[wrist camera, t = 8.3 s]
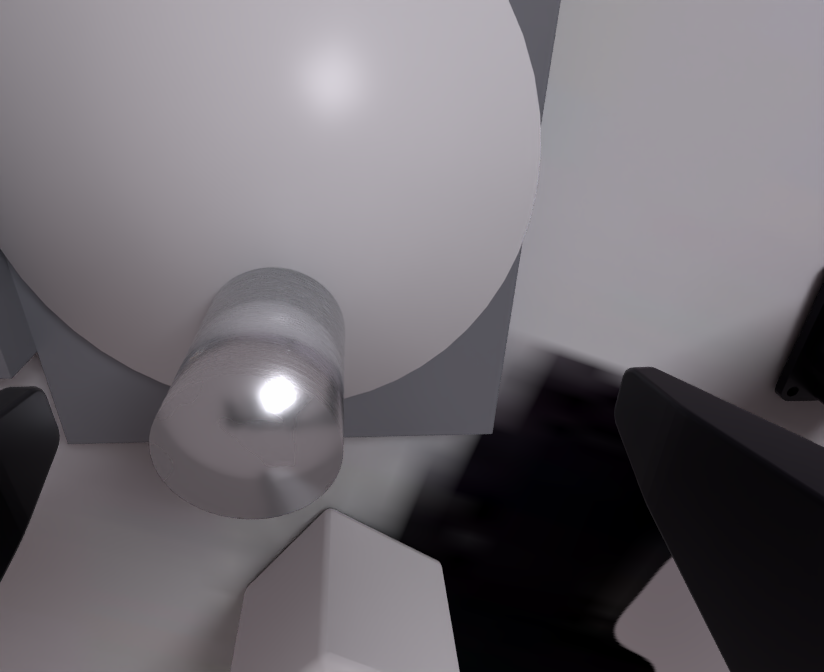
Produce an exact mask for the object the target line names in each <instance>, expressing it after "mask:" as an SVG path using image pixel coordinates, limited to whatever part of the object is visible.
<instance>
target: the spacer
mask: <svg viewBox="0 0 824 672" xmlns="http://www.w3.org/2000/svg"><path fill="white" fill-rule="evenodd" d="M344 355H345V325H344V319H343V314H342V312H341V309H340V307H339V305H338V303H337V301H336V300H335V298H334V297H333V296H332V294H331V293H330V292H329V291H328V290H327V289H326V288H325V287H324V286H323V285H321V284H320V283H319V282H318V281H316V280H314V279H313V278H311V277H309V276H307V275H305V274H303V273H301V272H297V271H294V270H291V269H286V268H277V267H267V268H259V269H253V270H250V271H247V272H244V273H242V274H240V275H238V276H236V277H234V278H233V279H231V280H230V281H228V282H227V283H226V284H225V285H224V286H223V287H222V288H221V289H220V290H219V291H218V293H217V294H216V296H215V298H214V299H213V301H212V303H211V305H210V307H209V309H208V311H207V313H206V315H205V317H204V319H203V321H202V324H201V326H200V328H199V330H198V332H197V334H196V336H195V338H194V340H193V342H192V344H191V346H190V348H189V350H188V352H187V354H186V356H185V358H184V360H183V362H182V364H181V366H180V368H179V370H178V372H177V374H176V376H175V378H174V380H173V382H172V384H171V387H170V389H169V391H168V393H167V395H166V397H165V399H164V401H163V403H162V405H161V407H160V409H159V411H158V413H157V415H156V417H155V419H154V422H153V424H152V426H151V431H150V435H149V450H150V456H151V459H152V462H153V465H154V467H155V469H156V471H157V473H158V475H159V476H160V477H161V479H162V480H163V481H164V483H165V484H166V485H167V486H168V487H169V488H170V489H171V490H172V491H173V492H174V493H176V494H177V495H178V496H179V497H181V498H182V499H184V500H185V501H187V502H188V503H190V504H192V505H194V506H196V507H198V508H200V509H202V510H205V511H208V512H210V513H214V514H217V515H221V516H225V517H231V518H239V519H264V518H272V517H278V516H282V515H285V514H289V513H292V512H294V511H297V510H299V509H302V508H303V507H305V506H307V505H309V504H311V503H312V502H314V501H315V500H317V499H318V498H319V497H320V496H321V495H323V494H324V493H325V492H326V491H327V490H328V488H329V487H330V486H331V485H332V483H333V482H334V480H335V479H336V477H337V475H338V473H339V470H340V467H341V463H342V459H343V423H344Z"/></svg>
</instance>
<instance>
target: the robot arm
mask: <svg viewBox="0 0 824 672" xmlns="http://www.w3.org/2000/svg"><path fill="white" fill-rule="evenodd" d="M775 392H776V394H778V395H779V396H780V397H781V398H782V399H784V400H785V401H814V400H819V401H820V402H821V403H823V404H824V283H823V285H822V287H821V289H820V292H819V294H818V296H817V298H816V300H815V302H814V305H813V307H812V309H811V311H810V313H809V315H808V318H807V320H806V322H805V324H804V326H803V328H802V331H801V333H800V335H799V337H798V339H797V341H796V344H795V346H794V348H793V350H792V352H791V355H790V357H789V359H788V361H787V363H786V365H785V368H784V370H783V372H782V374H781V376H780V378H779V381H778V383H777V385H776V388H775ZM614 415H615V422H616V425H617V428H618V431H619V433H620V436H621V439H622V441H623V444H624V447H625V449H626V452H627V455H628V458H629V460H630V463H631V466H632V468H633V471H634V474H635V476H636V479H637V482H638V485H639V487H640V490H641V492H642V495H643V497H644V500H645V502H646V504H647V506H648V509H649V511H650V513H651V515H652V517H653V519H654V521H655V523H656V525H657V527H658V529H659V531H660V533H661V535H662V537H663V539H664V541H665V543H666V545H667V547H668V549H669V551H670V553H671V555H672V557H673V559H674V561H675V563H676V565H677V567H678V569H679V571H680V573H681V575H682V576H683V579H684V580H685V583H686V585H687V587H688V589H689V591H690V593H691V595H692V597H693V599H694V600H695V603H696V604H697V607H698V609H699V611H700V613H701V615H702V617H703V618H704V621H705V623H706V624H707V626H708V628H709V631H710V632H711V635H712V636H713V638H714V640H715V642H716V644H717V646H718V648H719V650H720V652H721V654H722V656H723V658H724V660H725V662H726V664H727V666H728V668H729V670H730V672H824V447H822V446H820V445H818V444H816V443H814V442H812V441H809V440H807V439H805V438H803V437H801V436H799V435H797V434H795V433H792V432H790V431H788V430H786V429H784V428H782V427H780V426H777V425H775V424H773V423H771V422H769V421H767V420H765V419H763V418H760V417H758V416H756V415H754V414H752V413H750V412H748V411H746V410H743V409H741V408H739V407H737V406H735V405H733V404H731V403H729V402H726V401H724V400H722V399H720V398H718V397H716V396H714V395H712V394H709V393H707V392H705V391H703V390H701V389H699V388H697V387H695V386H692V385H690V384H688V383H686V382H684V381H682V380H680V379H678V378H675V377H673V376H671V375H669V374H667V373H665V372H663V371H661V370H658V369H656V368H654V367H633V368H629V369H628V370H626V371H625V373H624V375H623V378H622V382H621V386H620V390H619V394H618V398H617V402H616V405H615V413H614ZM59 436H60V435H59V429H58V426H57V424H56V421H55V418H54V416H53V413H52V410H51V408H50V405H49V402H48V400H47V397H46V395H45V393H44V392H43V390H42V389H40V388H38V387H35V386H30V387H9V388H5V389H3V390H1V391H0V582H1V580H2V578H3V576H4V574H5V572H6V570H7V569H8V567H9V565H10V563H11V561H12V559H13V557H14V555H15V553H16V551H17V549H18V547H19V545H20V542H21V540H22V538H23V536H24V534H25V531H26V529H27V527H28V524H29V522H30V519H31V517H32V514H33V511H34V509H35V506H36V504H37V501H38V498H39V496H40V493H41V490H42V488H43V485H44V483H45V480H46V477H47V475H48V472H49V469H50V467H51V464H52V462H53V459H54V456H55V454H56V451H57V448H58V445H59Z"/></svg>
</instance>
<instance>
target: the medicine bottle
mask: <svg viewBox="0 0 824 672" xmlns="http://www.w3.org/2000/svg"><path fill="white" fill-rule="evenodd" d="M230 672H459V666H458V660H457V655H456V649H455V643H454V637H453V631H452V625H451V619H450V613H449V607H448V602H447V596H446V590H445V584H444V578H443V572H442V566H441V564H440V562H439V561H437V560H435V559H433V558H431V557H429V556H427V555H425V554H423V553H421V552H419V551H417V550H415V549H413V548H411V547H409V546H407V545H405V544H403V543H401V542H399V541H397V540H395V539H393V538H391V537H389V536H387V535H385V534H383V533H381V532H379V531H377V530H375V529H373V528H371V527H369V526H367V525H365V524H363V523H361V522H359V521H357V520H355V519H353V518H351V517H349V516H347V515H345V514H343V513H341V512H339V511H337V510H335V509H331V508H330V509H327V510H325V511H324V512H323V513H322V514H321V515H320V516H319V517H318V518H317V519H316V520H315V521H314V522H313V523H312V524H311V525H310V526H309V527H308V528H307V529H306V530H305V531H304V532H303V533H302V534H301V535H300V536H299V537H298V538H297V539H296V540H295V541H294V542H293V543H291V544H290V545H289V546H288V547H287V548H286V549H285V550H284V551H283V552H282V553H281V554H280V555H279V556H278V557H277V558H276V559H275V560H274V561H273V562H272V563H271V564H270V565H269V566H268V567H267V568H266V569H265V570H264V571H263V572H262V573H261V574H260V575H259V576H258V577H257V578H256V579H255V580H254V581H253V582H252V583H251V584H250V585H249V586H248V587H247V589H246V591H245V593H244V599H243V604H242V610H241V615H240V621H239V626H238V632H237V637H236V643H235V648H234V653H233V659H232V664H231V670H230Z"/></svg>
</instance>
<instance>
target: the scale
mask: <svg viewBox="0 0 824 672" xmlns="http://www.w3.org/2000/svg"><path fill="white" fill-rule="evenodd" d="M560 2H561V0H0V378H12V377H13V376H14V375H15V374H16V373H17V372H18V371H19V370H20V369H21V368H22V367H23V366H24V365H25V364H26V363H27V362H28V360H29V359H30V358H31V357H32V356H33V355H34V354H35V353H36V352H38V355H39V358H40V361H41V364H42V367H43V370H44V373H45V376H46V379H47V382H48V385H49V388H50V391H51V394H52V397H53V400H54V403H55V406H56V409H57V412H58V415H59V418H60V421H61V424H62V427H63V430H64V433H65V436H66V439H67V442H68V444H92V443H133V442H149V435H150V431H151V426H152V424H153V422H154V419H155V417H156V415H157V413H158V411H159V409H160V407H161V405H162V403H163V401H164V399H165V397H166V395H167V393H168V391H169V389H170V387H171V384H172V382H173V380H174V378H175V376H176V374H177V372H178V370H179V368H180V366H181V364H182V362H183V360H184V358H185V356H186V354H187V352H188V350H189V348H190V346H191V344H192V342H193V340H194V338H195V336H196V334H197V332H198V330H199V328H200V326H201V324H202V321H203V319H204V317H205V315H206V313H207V311H208V309H209V307H210V305H211V303H212V301H213V299H214V298H215V296H216V294H217V293H218V291H219V290H220V289H221V288H222V287H223V286H224V285H225V284H226V283H227V282H228V281H230V280H231V279H233V278H234V277H236V276H238V275H240V274H242V273H244V272H247V271H250V270H253V269H259V268H267V267H277V268H286V269H291V270H294V271H297V272H301V273H303V274H305V275H307V276H309V277H311V278H313V279H314V280H316V281H318V282H319V283H320V284H321V285H323V286H324V287H325V288H326V289H327V290H328V291H329V292H330V293H331V294H332V296H333V297H334V298H335V300H336V301H337V303H338V305H339V307H340V309H341V312H342V314H343V319H344V325H345V355H344V423H343V437H378V436H419V435H460V434H492V431H493V425H494V418H495V412H496V406H497V399H498V393H499V387H500V381H501V374H502V368H503V362H504V355H505V349H506V343H507V336H508V330H509V324H510V317H511V311H512V305H513V298H514V292H515V286H516V279H517V273H518V267H519V261H520V254H521V248H522V242H523V239H524V236H525V234H526V231H527V228H528V225H529V223H530V219H531V214H532V210H533V206H534V201H535V197H536V192H537V188H538V178H539V168H540V158H541V122H542V115H543V109H544V103H545V96H546V90H547V84H548V77H549V71H550V65H551V58H552V52H553V46H554V39H555V33H556V27H557V21H558V14H559V8H560Z"/></svg>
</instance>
